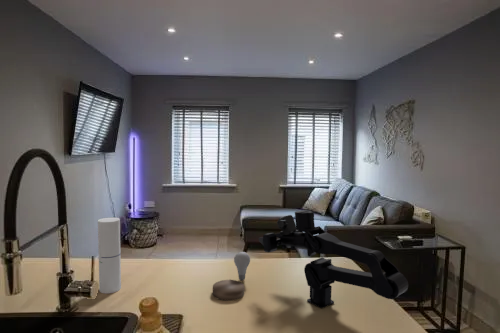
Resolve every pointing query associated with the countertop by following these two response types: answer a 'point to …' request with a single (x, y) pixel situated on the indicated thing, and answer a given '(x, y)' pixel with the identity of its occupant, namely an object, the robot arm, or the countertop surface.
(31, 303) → the countertop surface
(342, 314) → the countertop surface
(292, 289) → the countertop surface
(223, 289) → the walnut base
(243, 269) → the lightbulb
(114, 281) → the cylindrical container
